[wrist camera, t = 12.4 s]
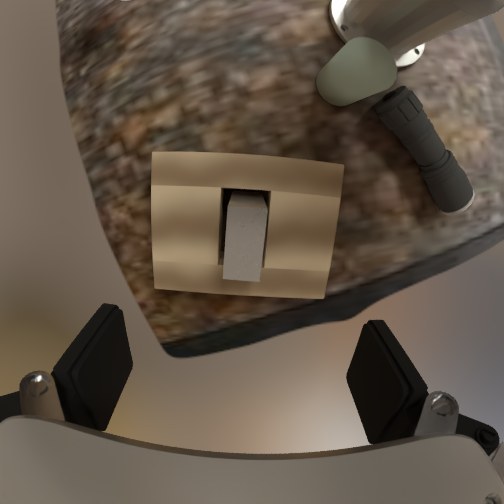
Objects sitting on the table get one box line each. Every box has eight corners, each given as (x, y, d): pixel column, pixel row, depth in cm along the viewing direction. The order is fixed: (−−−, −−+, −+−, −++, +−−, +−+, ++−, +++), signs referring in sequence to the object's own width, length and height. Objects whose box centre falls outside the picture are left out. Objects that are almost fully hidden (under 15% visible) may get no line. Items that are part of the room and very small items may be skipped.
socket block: (164, 151, 28) (152, 151, 24) (332, 163, 29) (344, 164, 25) (164, 273, 33) (154, 288, 29) (315, 282, 33) (323, 298, 30)
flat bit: (233, 190, 30) (227, 205, 21) (261, 193, 30) (267, 209, 21) (228, 244, 32) (222, 278, 23) (255, 246, 32) (259, 281, 23)
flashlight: (362, 111, 27) (383, 104, 22) (390, 86, 26) (414, 77, 21) (432, 210, 31) (457, 220, 26) (455, 183, 29) (481, 190, 24)
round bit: (316, 61, 25) (342, 30, 16) (359, 70, 25) (396, 46, 17) (314, 102, 26) (341, 83, 18) (358, 110, 27) (397, 97, 18)
